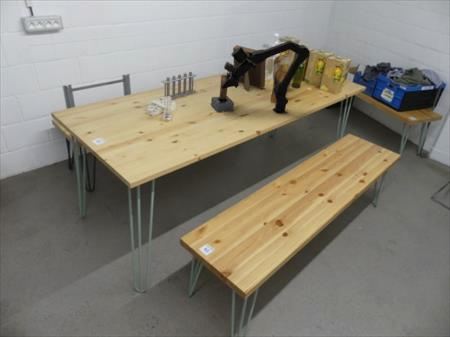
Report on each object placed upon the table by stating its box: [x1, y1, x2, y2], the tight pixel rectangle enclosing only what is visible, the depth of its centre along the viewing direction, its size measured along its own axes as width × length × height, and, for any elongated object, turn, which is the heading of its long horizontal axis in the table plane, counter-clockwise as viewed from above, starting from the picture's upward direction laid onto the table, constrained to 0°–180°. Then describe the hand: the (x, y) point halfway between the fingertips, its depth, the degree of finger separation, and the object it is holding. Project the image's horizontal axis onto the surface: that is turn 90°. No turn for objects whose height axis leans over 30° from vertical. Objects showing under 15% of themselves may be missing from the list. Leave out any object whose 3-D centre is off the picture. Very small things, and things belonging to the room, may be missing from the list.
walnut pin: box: [219, 74, 228, 99], centre depth 204 cm, size 4×4×13 cm
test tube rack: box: [160, 70, 198, 100], centre depth 218 cm, size 25×4×13 cm, turn 138°
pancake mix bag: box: [270, 52, 291, 104], centre depth 222 cm, size 7×19×28 cm, turn 136°
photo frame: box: [232, 45, 267, 92], centre depth 238 cm, size 15×22×25 cm
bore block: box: [210, 95, 235, 113], centre depth 209 cm, size 10×10×5 cm
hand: (221, 86), depth 204 cm, fingers closed on walnut pin, 4 cm apart
